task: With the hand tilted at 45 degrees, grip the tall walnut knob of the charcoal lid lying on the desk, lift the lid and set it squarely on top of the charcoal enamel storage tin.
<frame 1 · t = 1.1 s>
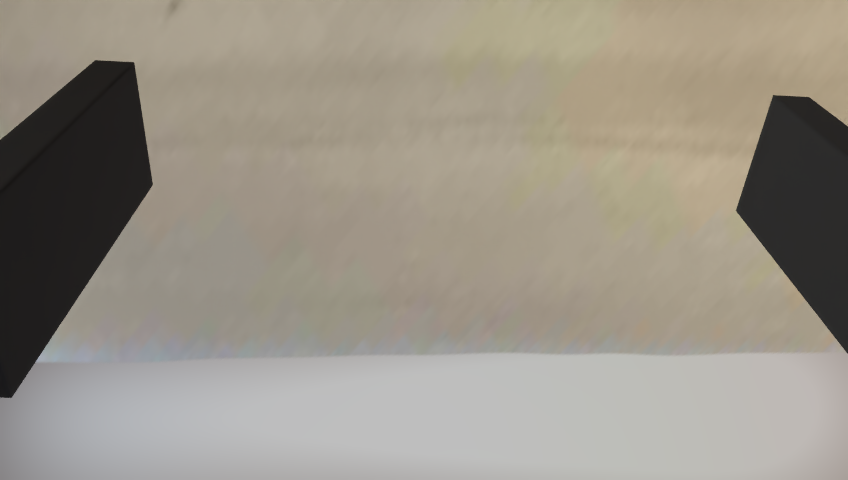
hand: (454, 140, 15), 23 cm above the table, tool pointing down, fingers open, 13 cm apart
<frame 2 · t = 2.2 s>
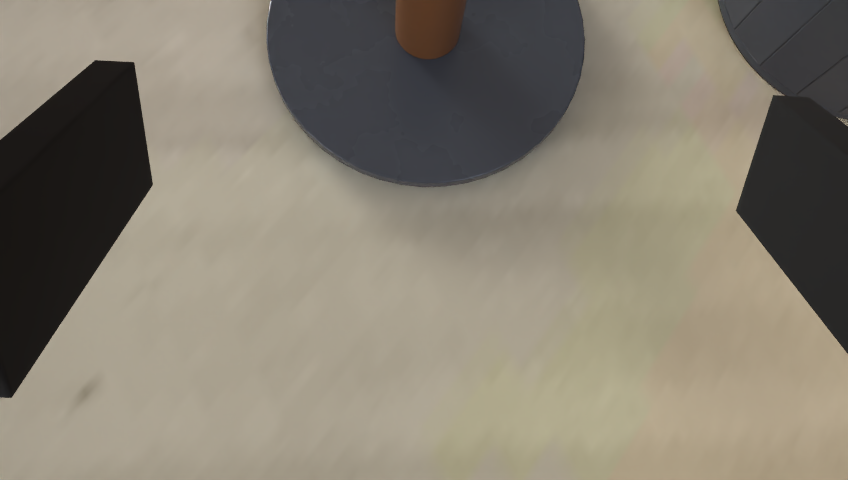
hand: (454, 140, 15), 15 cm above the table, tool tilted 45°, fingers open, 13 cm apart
lid: (426, 37, 32), point 1 cm above the table
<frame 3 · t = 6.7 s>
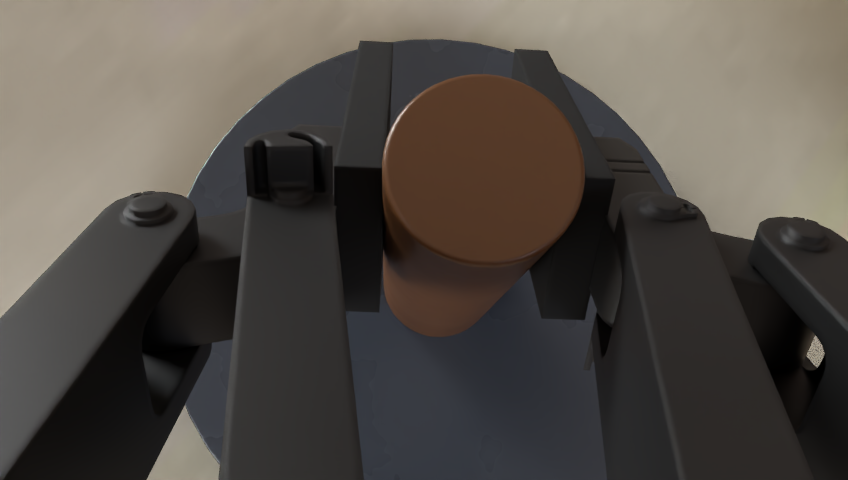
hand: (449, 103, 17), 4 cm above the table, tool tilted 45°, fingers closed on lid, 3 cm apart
lid: (436, 286, 19), point 1 cm above the table, touching gripper
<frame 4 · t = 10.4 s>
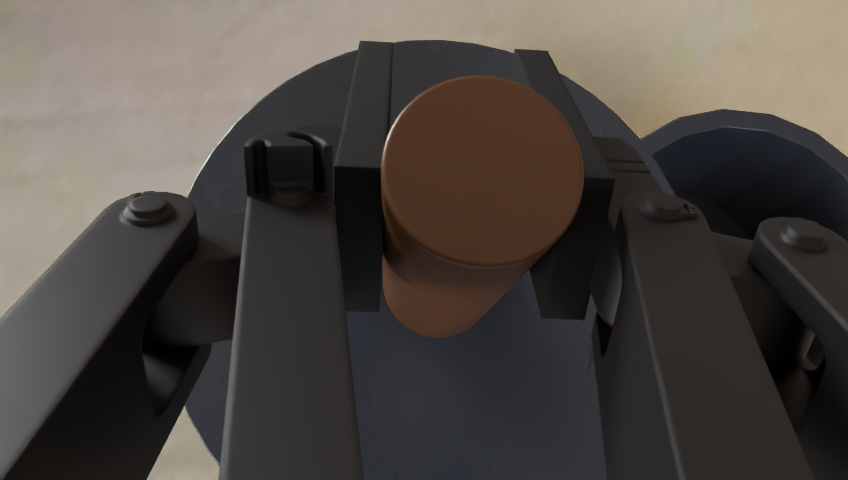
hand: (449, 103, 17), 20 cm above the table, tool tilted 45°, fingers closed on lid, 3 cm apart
tin: (663, 297, 37), on the table
lid: (435, 287, 19), point 17 cm above the table, touching gripper
when the fingers open (12 cm above the table, at t = 14.5 s): lid stays where it is, resting on tin.
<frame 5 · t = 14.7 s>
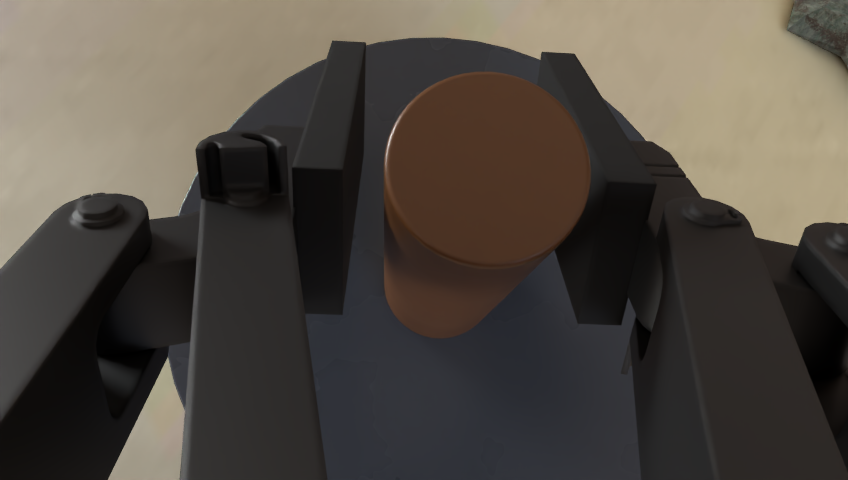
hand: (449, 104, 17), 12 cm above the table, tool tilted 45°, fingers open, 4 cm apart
lid: (437, 287, 19), point 9 cm above the table, touching tin
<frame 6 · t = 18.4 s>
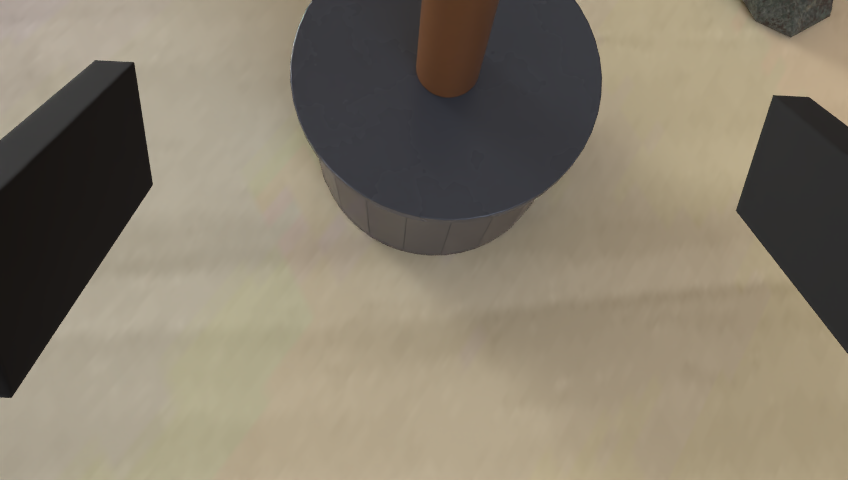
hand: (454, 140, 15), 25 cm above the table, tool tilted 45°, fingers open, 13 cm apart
tin: (433, 145, 41), on the table
lid: (446, 75, 33), point 9 cm above the table, touching tin
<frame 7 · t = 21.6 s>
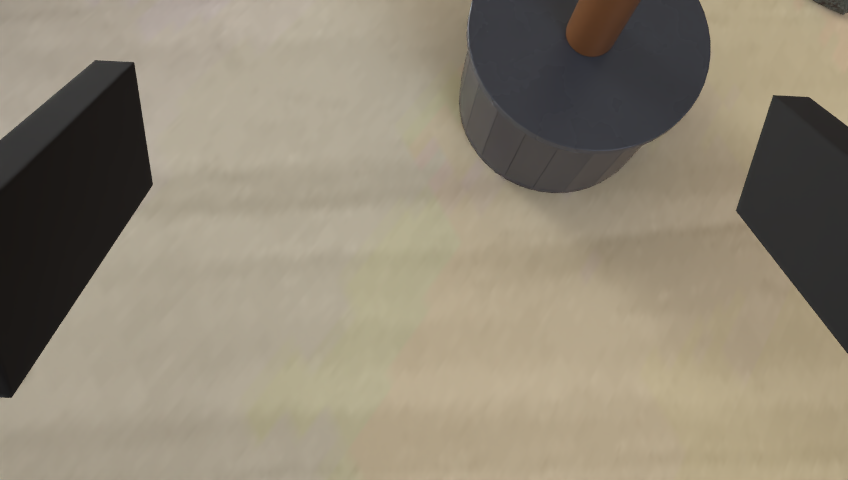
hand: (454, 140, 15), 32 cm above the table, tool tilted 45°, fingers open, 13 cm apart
tin: (551, 104, 50), on the table
lid: (587, 40, 41), point 9 cm above the table, touching tin
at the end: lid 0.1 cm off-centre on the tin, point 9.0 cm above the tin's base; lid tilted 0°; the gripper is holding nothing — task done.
